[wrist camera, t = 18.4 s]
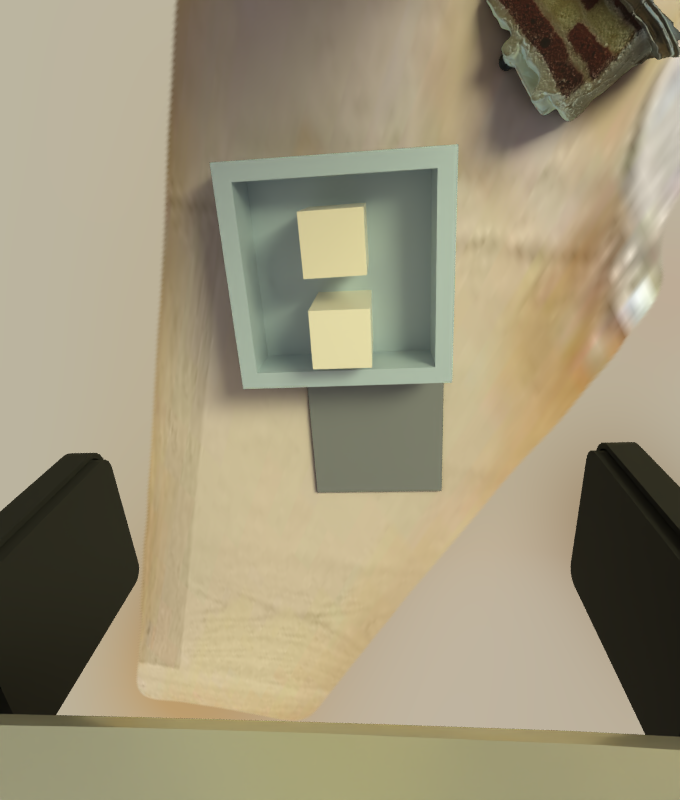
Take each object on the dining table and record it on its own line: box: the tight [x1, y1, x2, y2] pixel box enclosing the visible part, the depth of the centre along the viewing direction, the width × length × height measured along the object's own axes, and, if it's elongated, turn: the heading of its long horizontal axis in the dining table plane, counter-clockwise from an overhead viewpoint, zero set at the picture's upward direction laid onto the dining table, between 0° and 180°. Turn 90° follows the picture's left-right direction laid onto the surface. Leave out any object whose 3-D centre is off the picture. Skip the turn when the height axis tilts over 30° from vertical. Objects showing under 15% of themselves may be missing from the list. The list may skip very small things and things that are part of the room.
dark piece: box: [486, 0, 680, 121], centre depth 30 cm, size 10×7×12 cm
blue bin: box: [210, 144, 458, 389], centre depth 36 cm, size 15×15×4 cm
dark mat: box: [308, 383, 444, 492], centre depth 43 cm, size 11×11×1 cm
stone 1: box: [297, 202, 369, 279], centre depth 34 cm, size 4×4×6 cm
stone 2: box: [308, 290, 373, 369], centre depth 36 cm, size 4×4×6 cm
